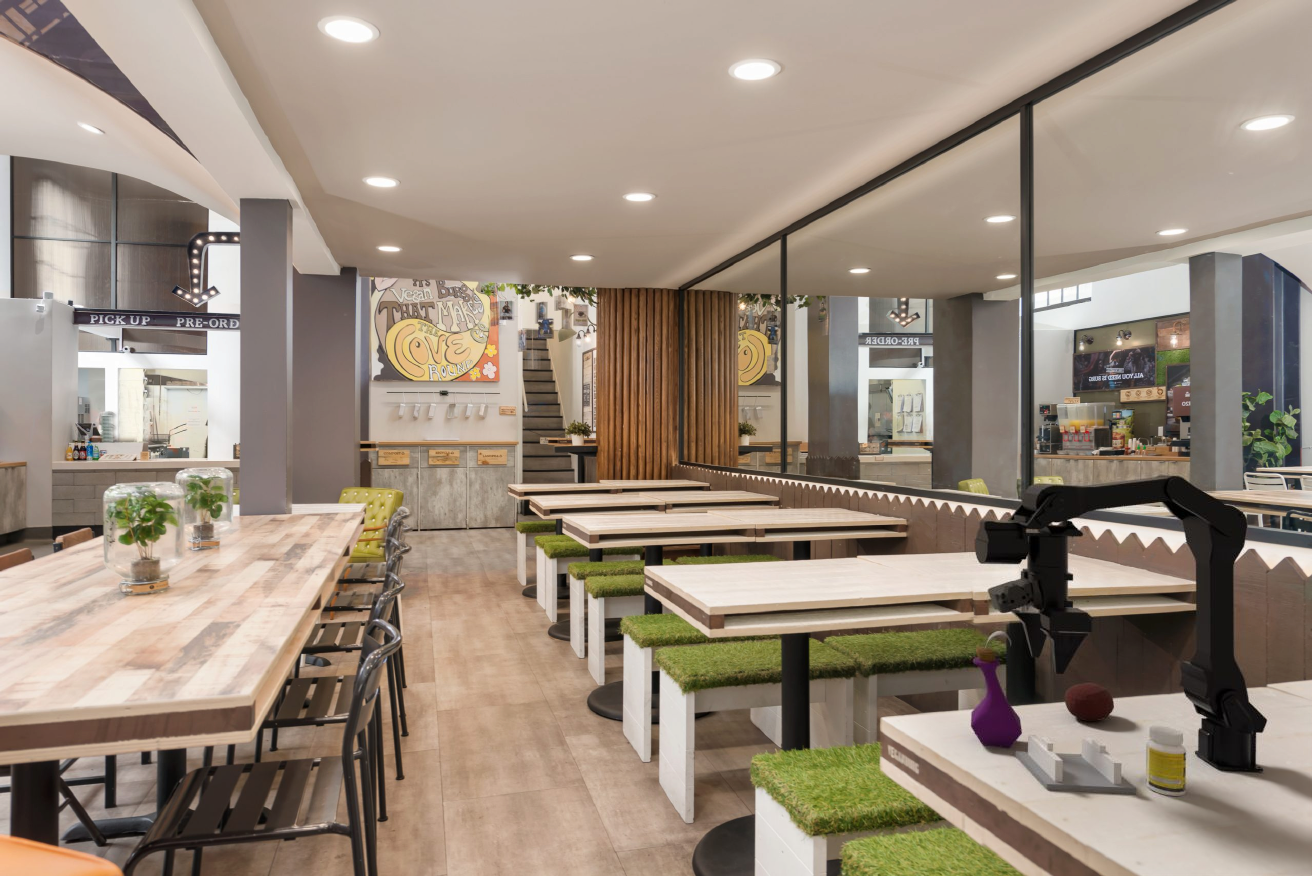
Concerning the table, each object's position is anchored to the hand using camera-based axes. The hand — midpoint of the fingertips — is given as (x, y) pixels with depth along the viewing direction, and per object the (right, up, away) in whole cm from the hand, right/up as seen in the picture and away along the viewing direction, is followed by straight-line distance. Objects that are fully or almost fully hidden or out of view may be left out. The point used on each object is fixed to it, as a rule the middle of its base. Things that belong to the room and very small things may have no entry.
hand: (1047, 665), depth 125 cm
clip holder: (+1, -14, -6) cm, 16 cm away
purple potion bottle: (-5, -14, +6) cm, 17 cm away
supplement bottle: (+11, -15, -11) cm, 22 cm away
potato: (+17, -15, +18) cm, 29 cm away
